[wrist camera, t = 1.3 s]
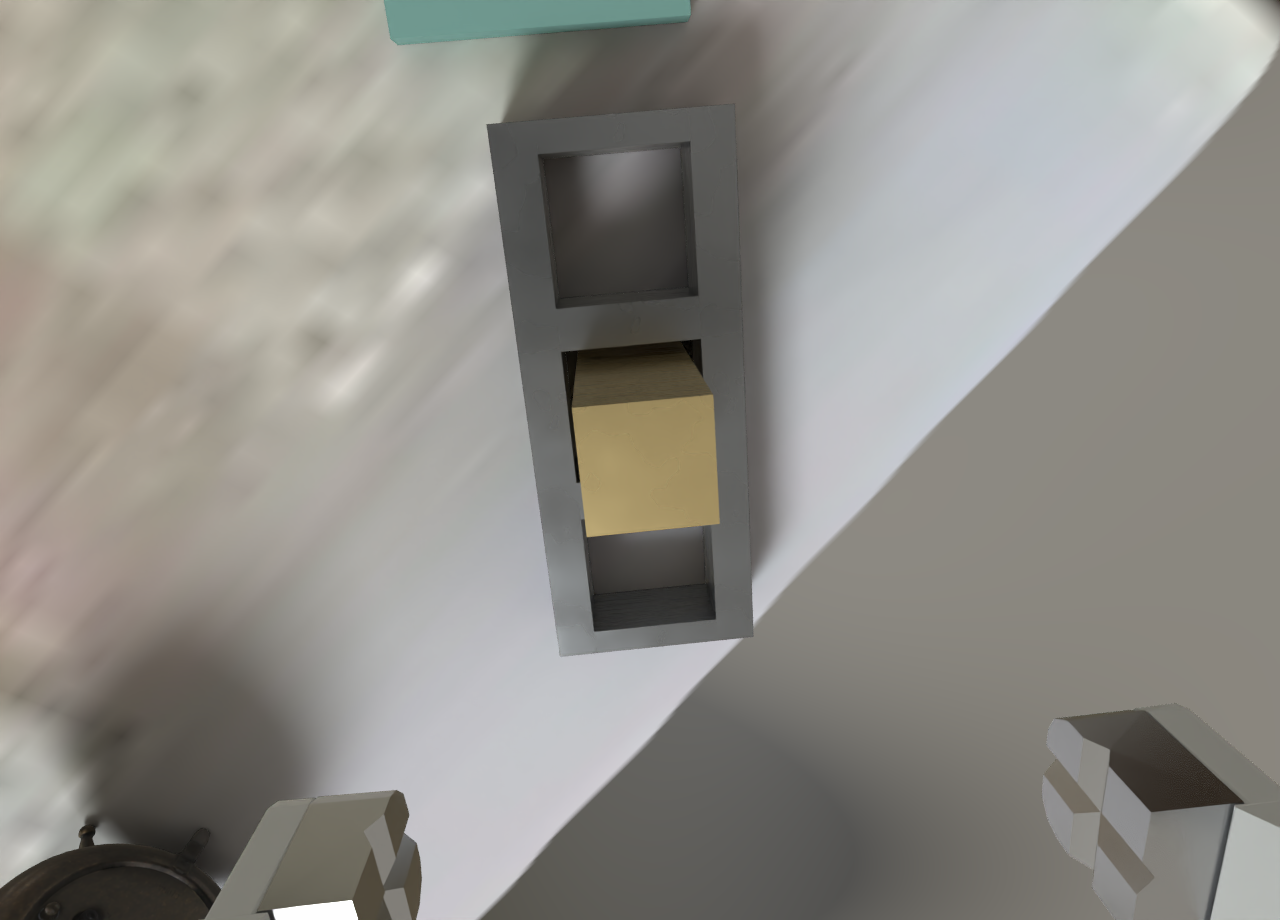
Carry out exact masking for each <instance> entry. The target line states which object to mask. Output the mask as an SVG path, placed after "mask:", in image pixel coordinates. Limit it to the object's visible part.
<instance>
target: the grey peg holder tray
mask: <svg viewBox="0 0 1280 920" xmlns="http://www.w3.org/2000/svg"><path fill="white" fill-rule="evenodd" d="M487 130H488V138H489V145H490V152H491V159H492V167H493V174H494V181H495V189H496V196H497V203H498V210H499V218H500V225H501V232H502V239H503V247H504V254H505V261H506V268H507V276H508V283H509V290H510V297H511V305H512V312H513V319H514V327H515V334H516V341H517V348H518V356H519V363H520V370H521V377H522V385H523V392H524V399H525V406H526V414H527V421H528V428H529V435H530V443H531V450H532V457H533V465H534V472H535V479H536V486H537V494H538V501H539V508H540V515H541V523H542V530H543V537H544V544H545V552H546V559H547V566H548V573H549V581H550V588H551V595H552V602H553V610H554V617H555V624H556V632H557V639H558V646H559V653H560V657H563V656H573V655H582V654H592V653H602V652H611V651H621V650H631V649H640V648H650V647H659V646H669V645H679V644H688V643H698V642H708V641H717V640H727V639H736V638H746V637H753V608H752V580H751V552H750V524H749V495H748V467H747V439H746V410H745V382H744V354H743V325H742V297H741V269H740V241H739V212H738V184H737V156H736V127H735V104H725V105H713V106H701V107H689V108H677V109H665V110H653V111H641V112H629V113H617V114H605V115H593V116H581V117H569V118H557V119H545V120H533V121H521V122H508V123H496V124H487ZM669 148H680V152H681V169H682V186H683V203H684V220H685V237H686V254H687V271H688V287H682V288H671V289H660V290H649V291H638V292H627V293H616V294H604V295H593V296H582V297H571V298H560V297H559V289H558V280H557V272H556V263H555V254H554V246H553V237H552V229H551V220H550V211H549V203H548V194H547V185H546V177H545V168H544V160H543V159H551V158H563V157H575V156H587V155H598V154H610V153H622V152H634V151H646V150H657V149H669ZM683 340H692V356H693V363H694V364H695V366H696V368H697V369H698V371H699V372H700V374H701V376H702V377H703V379H704V381H705V382H706V384H707V385H708V387H709V389H710V390H711V392H712V393H713V399H714V419H715V439H716V459H717V478H718V498H719V518H720V524H714V525H704V526H702V527H703V544H704V561H705V578H706V584H698V585H688V586H678V587H668V588H658V589H648V590H638V591H629V592H619V593H609V594H599V595H594V591H593V582H592V573H591V565H590V556H589V548H588V539H587V535H586V526H585V517H584V509H583V500H582V492H581V483H580V474H579V466H578V457H577V448H576V440H575V431H574V423H573V414H572V401H571V392H570V384H569V375H568V366H567V358H566V351H575V350H586V349H597V348H607V347H618V346H629V345H640V344H651V343H662V342H673V341H683Z"/></svg>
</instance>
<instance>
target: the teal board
mask: <svg viewBox="0 0 1280 920" xmlns="http://www.w3.org/2000/svg"><path fill="white" fill-rule="evenodd" d="M384 4H385V10H386V16H387V21H388V27H389V33H390V39H391V40H392V41H394V42H395V43H396V44H397V45H405V44H417V43H430V42H442V41H455V40H467V39H480V38H492V37H505V36H518V35H530V34H543V33H555V32H568V31H580V30H593V29H605V28H618V27H630V26H643V25H655V24H668V23H680V22H688V20H689V18H690V16H691V9H690V0H384Z"/></svg>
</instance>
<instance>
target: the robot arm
mask: <svg viewBox="0 0 1280 920" xmlns="http://www.w3.org/2000/svg"><path fill="white" fill-rule="evenodd" d="M1047 746H1048V748H1049V749H1050V750H1051V751H1052V752H1053V754H1054V755H1055V756H1056V758H1057V759H1056V760H1055V761H1054V762H1053V764H1052V765H1051V766H1050V767H1049V768H1048V770H1047V771H1046V772H1045V773H1044V774H1043V790H1042V798H1043V802H1044V806H1045V810H1046V814H1047V818H1048V821H1049V823H1050V825H1051V827H1052V829H1053V831H1054V834H1055V836H1056V838H1057V839H1058V841H1059V842H1060V843H1061V845H1062V846H1063V848H1064V849H1065V850H1066V852H1067V854H1068V855H1069V856H1071V857H1072V858H1074V859H1076V860H1077V861H1079V862H1081V863H1082V864H1084V865H1086V866H1087V867H1089V868H1091V869H1092V870H1093V881H1092V889H1093V890H1094V891H1095V893H1096V894H1097V896H1098V897H1099V898H1100V899H1101V901H1102V902H1103V904H1104V905H1105V907H1106V908H1107V909H1108V911H1109V912H1110V913H1111V915H1112V916H1113V918H1114V919H1115V920H1280V786H1279V785H1278V784H1277V783H1276V782H1275V781H1273V780H1272V779H1271V778H1270V777H1269V776H1268V775H1266V774H1265V773H1264V772H1263V771H1262V770H1261V769H1259V768H1258V767H1257V766H1256V765H1255V764H1254V763H1252V762H1251V761H1250V760H1249V759H1247V758H1246V757H1245V756H1244V755H1243V754H1242V753H1241V752H1239V751H1238V750H1237V749H1236V748H1235V747H1234V746H1232V745H1231V744H1230V743H1229V742H1228V741H1227V740H1225V739H1224V738H1223V737H1222V736H1221V735H1219V734H1218V733H1217V732H1216V731H1215V730H1214V729H1212V728H1211V727H1210V726H1209V725H1208V724H1207V723H1205V722H1204V721H1203V720H1202V719H1201V718H1200V717H1198V716H1197V715H1196V714H1195V713H1194V712H1192V711H1191V710H1190V709H1188V708H1186V707H1184V706H1181V705H1179V704H1176V703H1174V704H1165V705H1158V706H1150V707H1142V708H1135V709H1134V710H1123V711H1115V712H1106V713H1097V714H1089V715H1080V716H1072V717H1063V718H1055V719H1054V720H1053V722H1052V724H1051V725H1050V727H1049V729H1048V737H1047ZM408 818H409V811H408V808H407V804H406V801H405V798H404V794H403V793H401V792H399V791H397V790H392V791H380V792H368V793H356V794H344V795H332V796H320V797H318V798H307V799H294V800H282V801H277V802H276V803H275V804H273V805H272V806H271V807H269V808H268V809H267V810H266V812H265V814H264V815H263V817H262V819H261V821H260V823H259V824H258V826H257V828H256V830H255V831H254V833H253V835H252V837H251V838H250V840H249V842H248V844H247V845H246V847H245V849H244V851H243V853H242V854H241V856H240V858H239V860H238V861H237V863H236V865H235V867H234V868H233V870H232V872H231V874H230V875H229V877H228V879H227V881H226V883H225V884H224V886H223V888H222V890H221V891H220V893H219V895H218V897H217V898H216V900H215V902H214V904H213V905H212V907H211V909H210V911H209V913H208V914H207V916H206V918H205V919H203V920H416V918H417V914H418V909H419V905H420V894H421V882H422V874H421V862H420V856H419V851H418V847H417V843H416V842H415V841H414V840H412V839H411V838H410V837H409V836H407V835H406V834H405V833H404V831H405V828H406V824H407V821H408Z"/></svg>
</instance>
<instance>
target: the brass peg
mask: <svg viewBox="0 0 1280 920" xmlns="http://www.w3.org/2000/svg"><path fill="white" fill-rule="evenodd" d="M572 414H573V423H574V431H575V440H576V448H577V457H578V466H579V474H580V483H581V492H582V500H583V509H584V517H585V526H586V535H587V537H593V536H603V535H613V534H624V533H634V532H644V531H654V530H664V529H674V528H684V527H694V526H704V525H714V524H720V518H719V498H718V478H717V459H716V439H715V419H714V399H713V393H712V392H711V390H710V389H709V387H708V385H707V384H706V382H705V381H704V379H703V377H702V376H701V374H700V372H699V371H698V369H697V368H696V366H695V364H694V363H693V361H692V360H691V358H690V356H689V355H688V353H687V352H686V350H685V348H684V347H683V345H682V344H681V342H680V341H673V342H662V343H651V344H640V345H629V346H618V347H607V348H597V349H586V350H578V355H577V365H576V374H575V383H574V392H573V402H572Z"/></svg>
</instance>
